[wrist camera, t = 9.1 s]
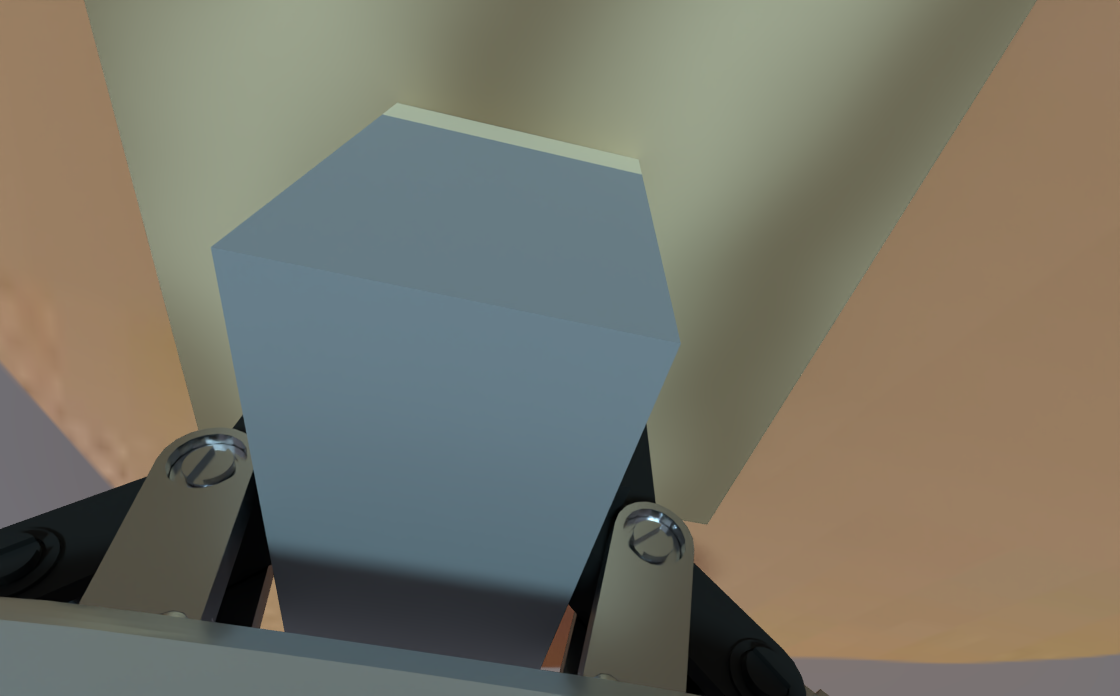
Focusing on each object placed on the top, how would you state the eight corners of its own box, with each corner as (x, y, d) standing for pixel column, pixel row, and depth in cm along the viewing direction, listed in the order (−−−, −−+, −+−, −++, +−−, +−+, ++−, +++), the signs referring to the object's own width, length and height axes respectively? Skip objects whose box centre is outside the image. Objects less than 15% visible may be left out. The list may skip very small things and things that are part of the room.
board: (1308, -559, 6) (1453, -661, 5) (700, 490, 16) (707, 525, 15) (-107, -1131, 5) (-296, -1423, 4) (225, 404, 15) (199, 435, 14)
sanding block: (638, 159, 9) (680, 343, 5) (548, 461, 14) (529, 694, 10) (397, 102, 9) (210, 247, 5) (387, 432, 14) (290, 660, 9)
